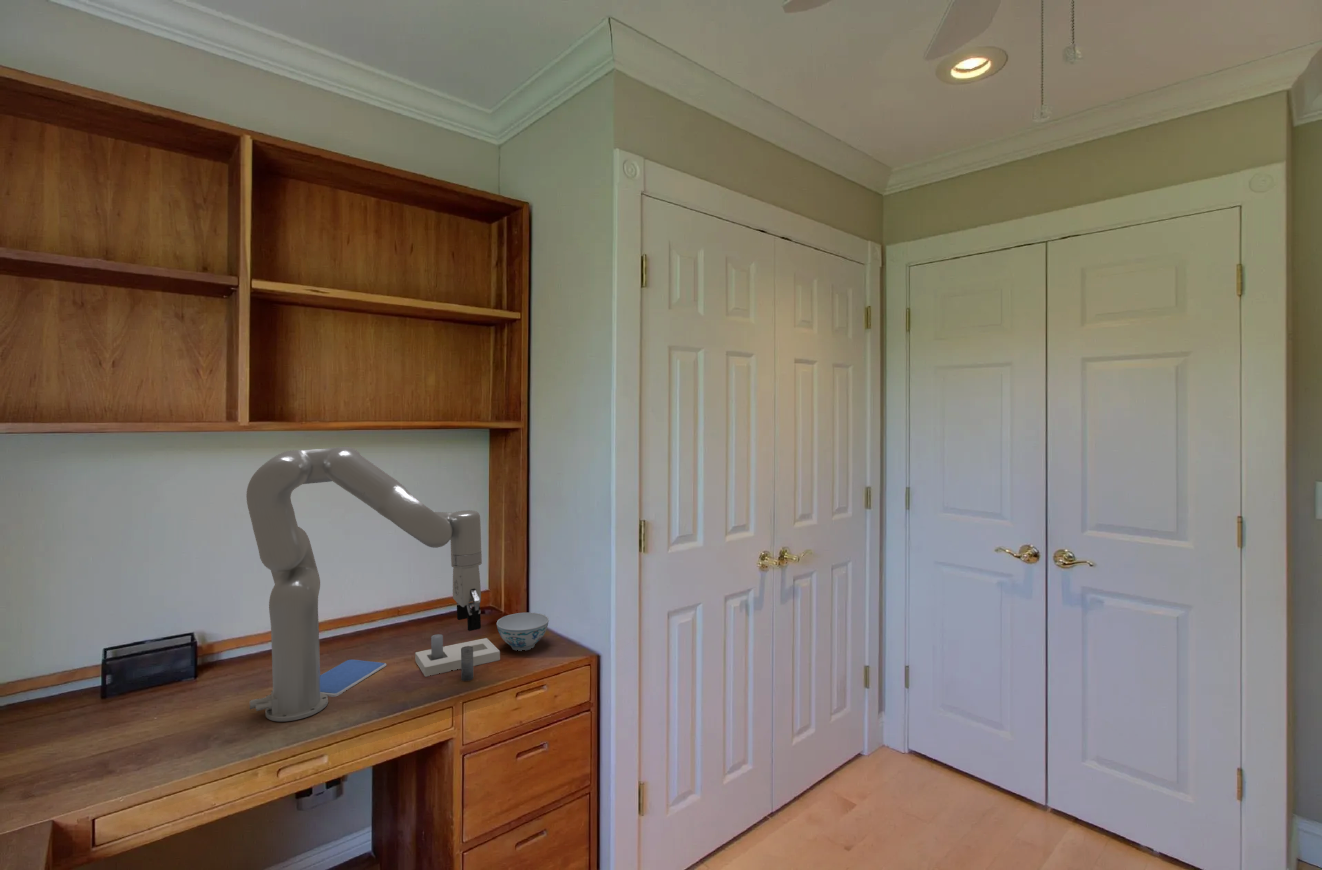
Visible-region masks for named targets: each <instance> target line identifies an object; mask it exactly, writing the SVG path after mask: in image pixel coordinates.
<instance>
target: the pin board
mask: <svg viewBox="0 0 1322 870" xmlns="http://www.w3.org/2000/svg"><path fill="white" fill-rule="evenodd" d="M430 639H431V640H430V645H431V648H430V649H425V650H421V651H416V652H415V653H414V654H415V655H414V658H415V659H414V661H415V663H416V664H417V665H418V667H419V669H420V671H421V672H422V674H423V676H424V677H425V678H426V677H431V676H435V675H439V673H440V674H443V673H448V672H449V673H450V672H452V671H451V670H453V671H457V669H458V670H461V648H462V647H465V646H472V647H473V667H475V666H480V665H483V664H488V663H489V664H490V663H493V662H497V661H500V660H501V651H500V649H498V648H497V647H496V645H494V643H492V642H491V641H490V640H489V638H487V637H485V638H481V639H475V640H470V641H464V642H459V643H455V644H450V645H445V646H444V635H443V634H441V633H440V634H438V633H437V634H434V635H431V637H430ZM430 675H431V676H430Z"/></svg>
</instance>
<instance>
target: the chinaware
mask: <svg viewBox="0 0 1322 870" xmlns="http://www.w3.org/2000/svg"><path fill="white" fill-rule="evenodd" d="M496 621H497V622H496V627H497V631H498V634H499V636H500V638H501V639H502V640H503V642H505V643H506V644H508V645H509V646H510V647H511V649H512V650H514V651H517V650H518V652H519V651H520V652H523V651H522V650H525V651H529V650H531V648H532V649H533V648H535V646H536V645H535V644H537V643H538V642H539V641H541V640H542V638H543V637H544V636H545V634H546V632H547V629H548V626H549V621H550V620H549V617H548V616H547V615H545V614H543V613H537V612H518V613H517V612H516V613H513V614H508V615H504V616H502V617H501V618H499V619H498V620H496Z"/></svg>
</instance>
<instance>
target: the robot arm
mask: <svg viewBox="0 0 1322 870" xmlns="http://www.w3.org/2000/svg"><path fill="white" fill-rule="evenodd" d="M329 482H330V483H331V482H333V483H335V484H336V485H337V486H339V487H340V488H341V489H343V490H345V492H346V491H347V493H350V494H351V495H352V496H354V497H355V498H357V499H358V500H360V501H361V502H363V503H364V504H365V505H367V506H369V507H370V508H372V509H373V510H374V511H376V512H377V513H378V514H379V515H381V516H382V517H384V519H385V518H386V519H387V520H389V522H391V523H393V524H394V525H395V526H397V527H398V528H400V529H401V530H402V531H404V532H405V533H407V534H408V535H409V536H411V537H412V538H414V539H416V540H417V541H418V542H420V543H422V544H423V545H425V546H427V547H429V548H433V549H434V548H437V549H438V548H441V547H443V546H446V544H448V543H449V542H450V561H451V563H450V565H451V568H452V599H453V600H454V601H455V602H456V619H457V620H458V621H461V620H467V622H466V623H467V631H469V632H471V631H475V630H476V631H477V630H480V629H481V628H482V626H481V625H482V622H481V621H482V619H481V617H482V616H481V613H482V611H481V606H480V605H481V601H482V590H481V589H482V588H481V587H482V585H481V578H480V577H481V576H480V567H479V566H480V565H482V564H483V563H482V562H483V561H482V558H483V556H482V534H481V533H482V531H481V528H482V527H481V516H480V513H479V512H478V511H476V510H458V511H455V512H452V511H451V512H447V511H446V512H444V511H433V510H432V509H430V508H429V507H428V506H426V505H425V504H424V503H422V501H420V500H418V499H417V498H416V497H415V496H414V495H412V494H411V492H410V491H408V489H406V487H405V486H404V485H403V484H402V483H400V481H398V480H397V479H395V478H394V477H393V476H391V475H390V474H388V473H387V472H385V471H383V470H382V469H380V468H379V466H377V465H375V464H374V463H372V462H371V461H369V460H368V459H367V458H365V457H364V456H363V455H361V453H360V452H359V451H357V449H355V448H353V447H349V446H338V447H328V448H325V447H324V448H313V449H312V448H311V449H310V448H309V449H296V450H294V449H293V450H287V451H284V452H281V453H278V454H277V455H275V456H273V457H271V458H270V459H269V460H267V461H266V462H265V463H264V464H262V465H261V466H260V467H259V468H258V469H257V470H256V471H255V472H254V474H253V475H252V476H251V478H250V479H249V481H248V484H247V488H246V494H245V495H246V504H247V509H248V515H249V518H250V521H251V526H252V530H253V534H254V537H255V542H256V545H257V550H258V555H259V559H260V562H261V564H263V566H264V567H266V569H268V570H270V572H271V575H272V579H273V584H274V586H273V587H272V590H271V592H270V594H269V601H268V610H269V611H268V613H269V621H270V635H271V665H272V667H271V668H272V690H270V694H268V695H265V697H262V698H256V699H249V710H252V709H255V711H256V712H259V711H263V710H265V718H267V719H268V720H270V721H273V722H291V721H297V720H302V719H305V718H308V717H311V716H313V715H315V714H318V713H319V712H321V711H323V710H324V709H325V708H326V707H327V706H328V703H329V698H328V697H329V696H326V695H325V694H323V693H320V675H321V667H320V665H321V664H320V663H321V659H320V657H321V655H320V630H319V629H320V627H319V626H320V625H319V622H320V621H319V594H320V589H321V578H320V574H319V570H318V567H317V562H316V559H315V555H314V552H313V549H312V547H313V546H312V545H311V541H310V538H309V535H308V534H307V532H306V530H304V529H303V528H301V527H300V526H298V522H297V518H296V513H295V509H294V506H293V503H292V499H291V497H292V493H293V491H295V490H296V489H297V488H299V487H301V486H302V485H309V484H320V483H329Z"/></svg>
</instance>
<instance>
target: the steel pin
mask: <svg viewBox="0 0 1322 870" xmlns="http://www.w3.org/2000/svg"><path fill="white" fill-rule="evenodd" d="M460 671H461V672H460V673H461V674H460V676H461V677H460V678H461V681H463V682H469V681H471V680H473V679H474V666H473V647H472V646H465V647H462V648H461V669H460Z"/></svg>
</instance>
